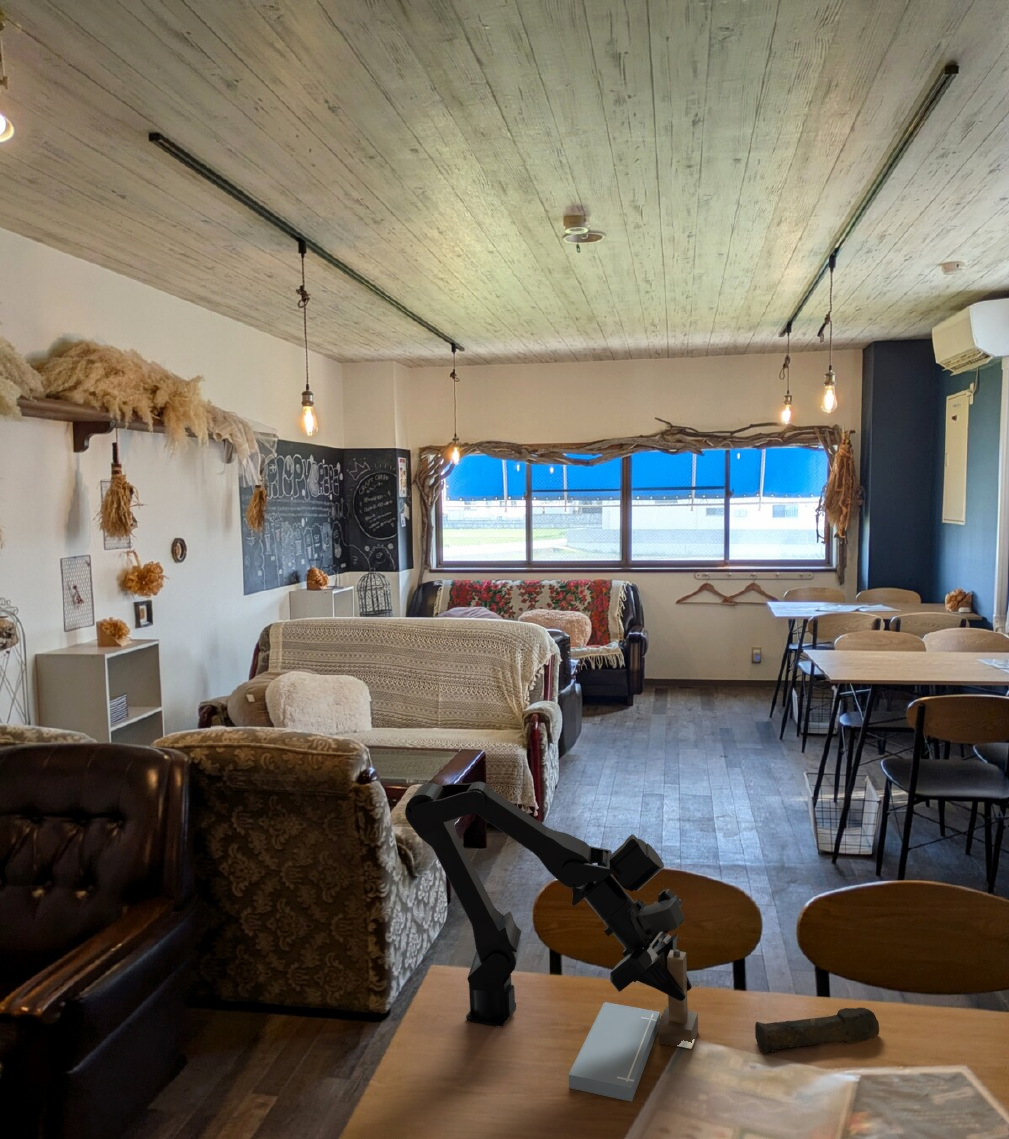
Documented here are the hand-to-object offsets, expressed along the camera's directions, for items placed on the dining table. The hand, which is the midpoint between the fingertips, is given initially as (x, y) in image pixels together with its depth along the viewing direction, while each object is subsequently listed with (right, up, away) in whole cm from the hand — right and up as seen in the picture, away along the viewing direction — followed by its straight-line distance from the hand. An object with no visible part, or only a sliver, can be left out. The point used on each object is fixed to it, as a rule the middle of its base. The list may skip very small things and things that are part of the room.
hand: (686, 994), depth 132 cm
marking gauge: (-1, -7, +1) cm, 7 cm away
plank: (-11, -8, -2) cm, 14 cm away
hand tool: (+20, -7, -1) cm, 21 cm away
